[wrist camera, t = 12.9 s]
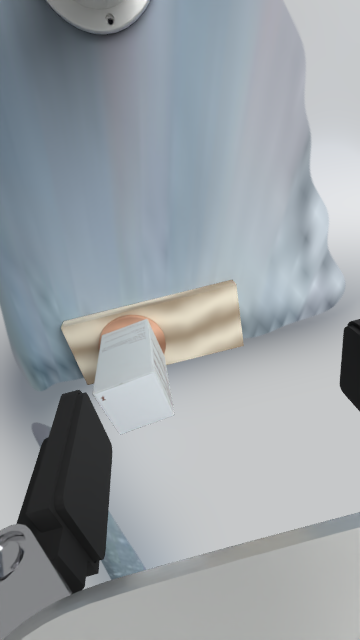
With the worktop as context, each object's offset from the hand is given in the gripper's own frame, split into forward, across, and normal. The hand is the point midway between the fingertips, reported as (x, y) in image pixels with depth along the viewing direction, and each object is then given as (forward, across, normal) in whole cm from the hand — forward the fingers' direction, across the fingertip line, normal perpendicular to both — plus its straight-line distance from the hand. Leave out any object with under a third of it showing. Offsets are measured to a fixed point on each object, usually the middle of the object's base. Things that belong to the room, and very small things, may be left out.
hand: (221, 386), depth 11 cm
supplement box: (+31, +8, +16) cm, 35 cm away
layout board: (+33, +4, +16) cm, 37 cm away
